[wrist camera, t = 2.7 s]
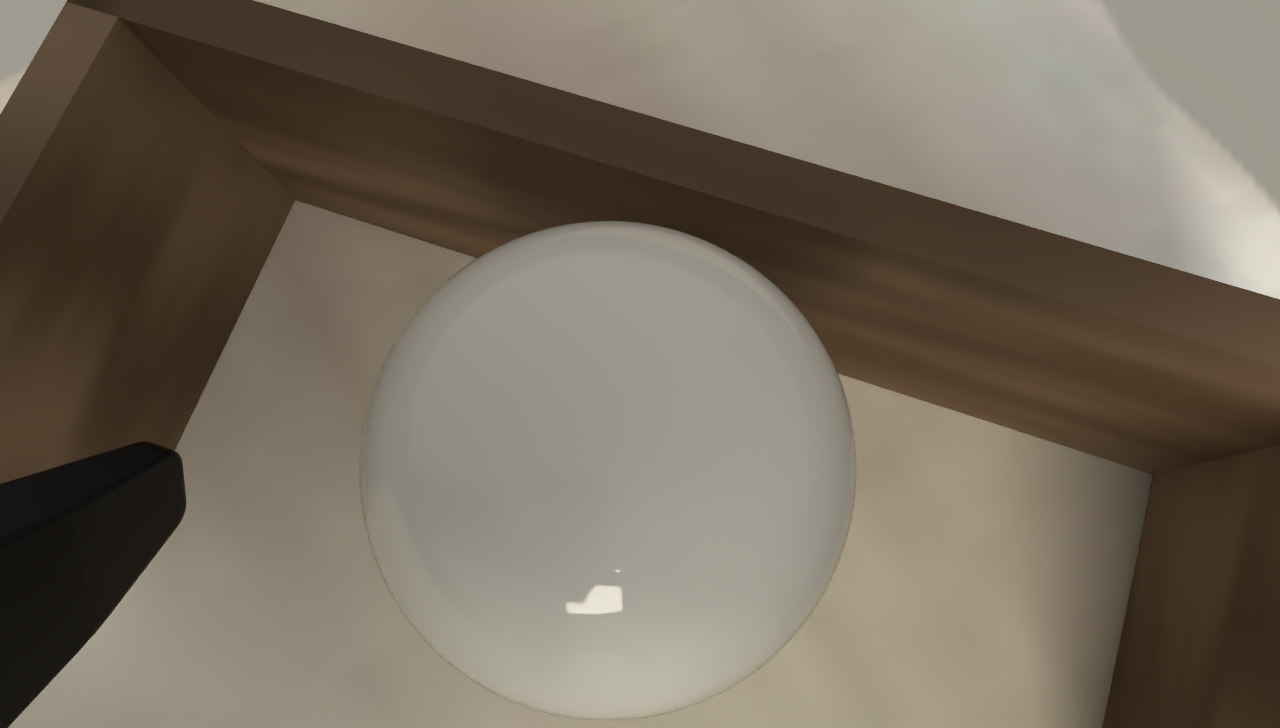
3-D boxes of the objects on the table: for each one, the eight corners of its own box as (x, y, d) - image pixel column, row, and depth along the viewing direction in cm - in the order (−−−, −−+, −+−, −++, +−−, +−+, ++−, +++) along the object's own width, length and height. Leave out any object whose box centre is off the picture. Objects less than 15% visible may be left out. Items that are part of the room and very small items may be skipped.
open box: (1117, 930, 17) (1426, 1166, 10) (86, 535, 19) (-231, 507, 12) (1208, 446, 19) (1509, 366, 12) (276, 153, 22) (95, -46, 15)
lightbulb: (538, 345, 20) (388, 69, 9) (805, 412, 19) (969, 196, 9) (455, 619, 19) (163, 659, 8) (742, 700, 18) (845, 864, 7)
